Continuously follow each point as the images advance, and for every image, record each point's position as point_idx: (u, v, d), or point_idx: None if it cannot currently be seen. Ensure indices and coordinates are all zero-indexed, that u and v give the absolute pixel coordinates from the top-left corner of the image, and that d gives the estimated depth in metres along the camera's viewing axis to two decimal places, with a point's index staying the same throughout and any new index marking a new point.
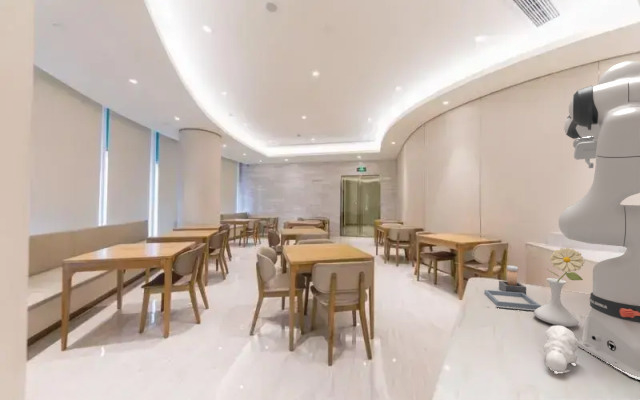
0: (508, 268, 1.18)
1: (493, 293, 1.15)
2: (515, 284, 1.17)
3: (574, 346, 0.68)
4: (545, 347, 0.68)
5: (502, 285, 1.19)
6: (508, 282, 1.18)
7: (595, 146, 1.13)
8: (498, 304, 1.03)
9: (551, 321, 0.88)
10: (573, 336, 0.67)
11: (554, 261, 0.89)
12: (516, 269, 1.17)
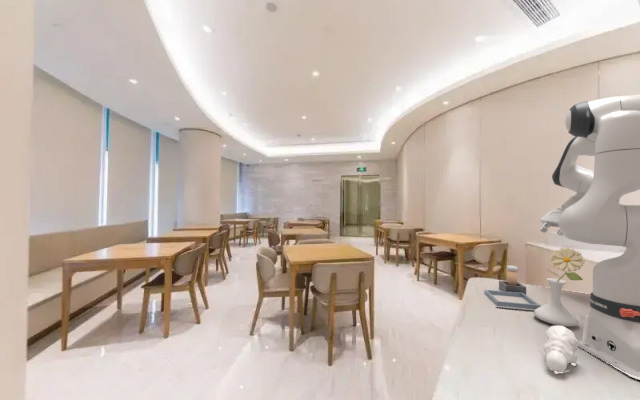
0: (508, 268, 1.18)
1: (493, 293, 1.15)
2: (515, 284, 1.17)
3: (574, 346, 0.68)
4: (545, 347, 0.68)
5: (502, 285, 1.19)
6: (508, 282, 1.18)
7: (558, 212, 1.20)
8: (498, 304, 1.03)
9: (551, 321, 0.88)
10: (573, 336, 0.67)
11: (554, 261, 0.89)
12: (516, 269, 1.17)
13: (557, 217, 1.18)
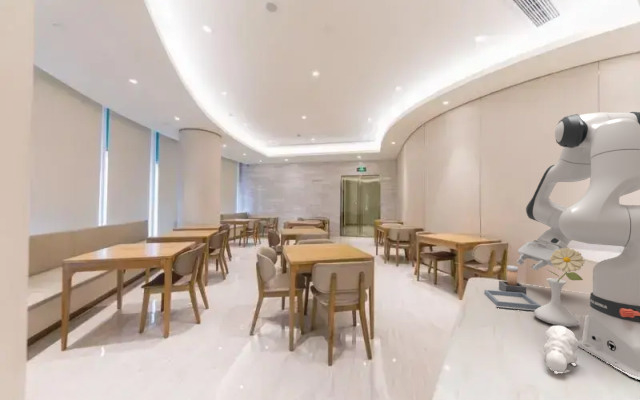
0: (508, 268, 1.18)
1: (493, 293, 1.15)
2: (515, 284, 1.17)
3: (574, 346, 0.68)
4: (545, 347, 0.68)
5: (502, 285, 1.19)
6: (508, 282, 1.18)
7: (534, 245, 1.21)
8: (498, 304, 1.03)
9: (551, 321, 0.88)
10: (573, 336, 0.67)
11: (554, 261, 0.89)
12: (516, 269, 1.17)
13: (533, 250, 1.19)
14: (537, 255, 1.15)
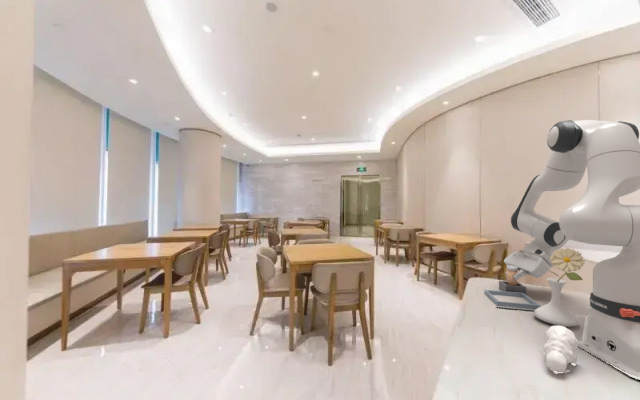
0: (508, 268, 1.18)
1: (493, 293, 1.15)
2: (515, 284, 1.17)
3: (574, 346, 0.68)
4: (545, 347, 0.68)
5: (502, 285, 1.19)
6: (508, 282, 1.18)
7: (519, 256, 1.22)
8: (498, 304, 1.03)
9: (551, 321, 0.88)
10: (573, 336, 0.67)
11: (554, 261, 0.89)
12: (516, 269, 1.17)
13: (518, 261, 1.20)
14: (522, 266, 1.15)
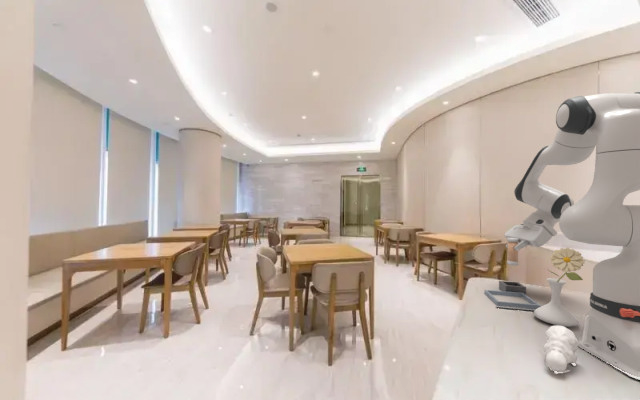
0: (509, 240, 1.16)
1: (493, 293, 1.15)
2: (516, 256, 1.15)
3: (574, 346, 0.68)
4: (545, 347, 0.68)
5: (502, 285, 1.19)
6: (509, 254, 1.16)
7: (520, 228, 1.20)
8: (498, 304, 1.03)
9: (551, 321, 0.88)
10: (573, 336, 0.67)
11: (554, 261, 0.89)
12: (517, 240, 1.15)
13: (518, 233, 1.18)
14: (523, 237, 1.13)
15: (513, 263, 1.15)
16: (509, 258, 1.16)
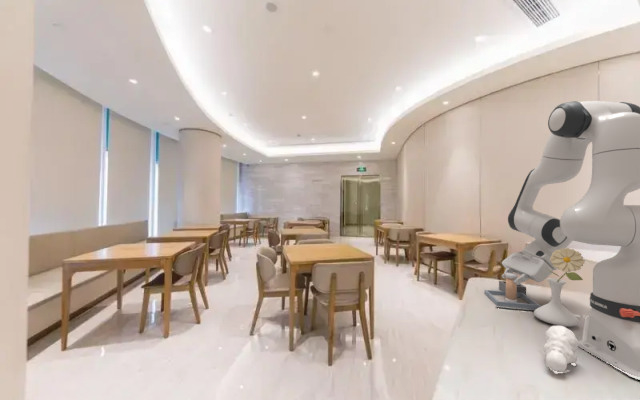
0: (507, 276, 1.07)
1: (493, 293, 1.15)
2: (514, 293, 1.06)
3: (574, 346, 0.68)
4: (545, 347, 0.68)
5: (502, 285, 1.19)
6: (507, 291, 1.08)
7: (519, 257, 1.11)
8: (498, 304, 1.03)
9: (551, 321, 0.88)
10: (573, 336, 0.67)
11: (554, 261, 0.89)
12: (515, 277, 1.06)
13: (517, 263, 1.09)
14: (521, 269, 1.04)
15: (511, 301, 1.06)
16: (507, 295, 1.07)
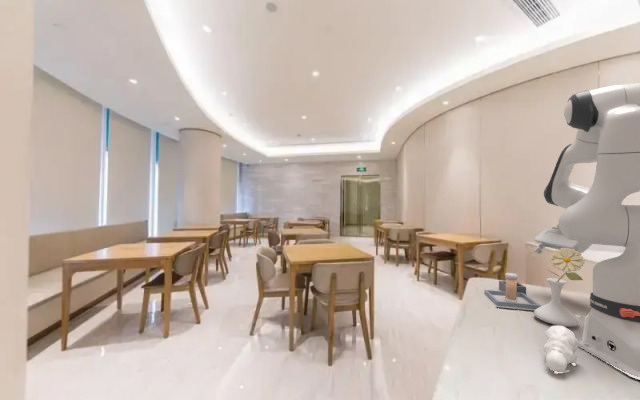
0: (507, 276, 1.07)
1: (493, 293, 1.15)
2: (514, 293, 1.06)
3: (574, 346, 0.68)
4: (545, 347, 0.68)
5: (502, 285, 1.19)
6: (507, 291, 1.08)
7: (553, 232, 1.10)
8: (498, 304, 1.03)
9: (551, 321, 0.88)
10: (573, 336, 0.67)
11: (554, 261, 0.89)
12: (515, 277, 1.06)
13: (552, 238, 1.08)
14: (559, 243, 1.04)
15: (511, 301, 1.06)
16: (507, 295, 1.07)
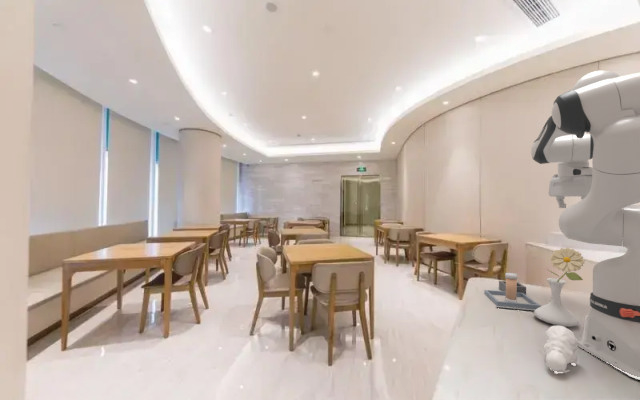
0: (507, 276, 1.07)
1: (493, 293, 1.15)
2: (514, 293, 1.06)
3: (574, 346, 0.68)
4: (545, 347, 0.68)
5: (502, 285, 1.19)
6: (507, 291, 1.08)
7: (560, 183, 1.11)
8: (498, 304, 1.03)
9: (551, 321, 0.88)
10: (573, 336, 0.67)
11: (554, 261, 0.89)
12: (515, 277, 1.06)
13: (564, 189, 1.08)
14: (574, 194, 1.04)
15: (511, 301, 1.06)
16: (507, 295, 1.07)
